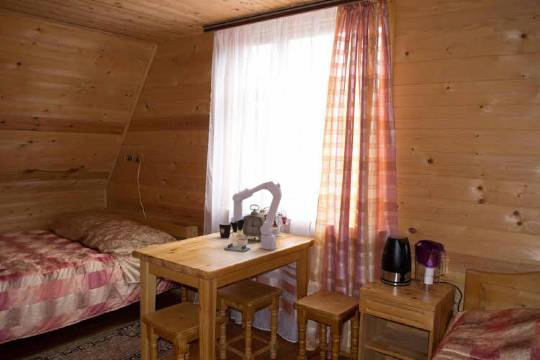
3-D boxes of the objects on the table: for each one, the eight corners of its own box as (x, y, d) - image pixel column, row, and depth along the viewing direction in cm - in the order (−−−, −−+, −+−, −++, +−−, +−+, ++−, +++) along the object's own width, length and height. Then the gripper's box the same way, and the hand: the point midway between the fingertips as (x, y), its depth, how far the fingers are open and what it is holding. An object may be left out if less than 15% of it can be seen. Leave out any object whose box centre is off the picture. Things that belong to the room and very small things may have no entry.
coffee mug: (216, 236, 321) (216, 223, 320) (226, 235, 326) (227, 221, 325) (225, 240, 311) (225, 225, 310) (235, 238, 317) (236, 224, 316)
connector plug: (247, 245, 298) (247, 238, 297) (244, 246, 294) (245, 239, 293) (240, 244, 299) (240, 237, 299) (238, 246, 296) (238, 238, 295)
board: (250, 249, 288) (250, 244, 288) (244, 252, 279) (244, 247, 279) (230, 246, 293) (230, 242, 292) (223, 249, 284) (224, 245, 284)
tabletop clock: (241, 240, 312) (242, 204, 310) (246, 237, 321) (247, 202, 318) (261, 242, 308) (262, 206, 306) (265, 239, 317) (266, 204, 314)
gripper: (237, 209, 305) (236, 229, 306) (227, 212, 291) (227, 233, 293) (246, 210, 302) (246, 230, 304) (237, 213, 289) (237, 234, 290)
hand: (237, 231), depth 298 cm, fingers open, 7 cm apart
